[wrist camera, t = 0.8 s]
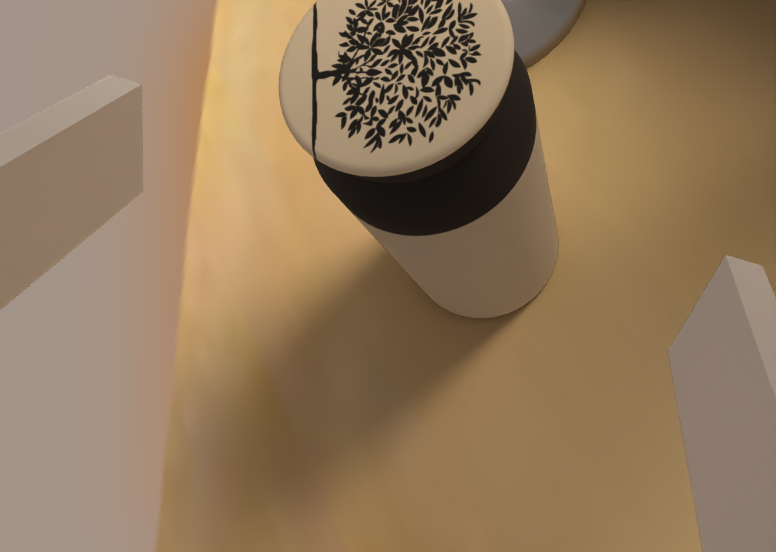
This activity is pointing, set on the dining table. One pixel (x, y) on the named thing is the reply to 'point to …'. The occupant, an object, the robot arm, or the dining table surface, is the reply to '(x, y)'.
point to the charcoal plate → (540, 25)
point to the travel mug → (428, 142)
